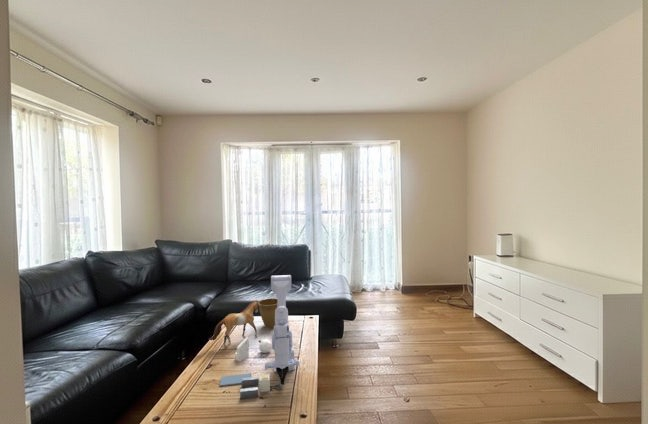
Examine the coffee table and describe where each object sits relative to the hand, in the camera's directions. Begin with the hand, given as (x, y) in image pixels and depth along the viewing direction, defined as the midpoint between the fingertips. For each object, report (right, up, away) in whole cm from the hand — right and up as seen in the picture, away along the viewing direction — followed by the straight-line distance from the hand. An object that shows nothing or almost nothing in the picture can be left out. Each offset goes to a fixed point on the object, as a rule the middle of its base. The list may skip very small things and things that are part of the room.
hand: (282, 383), depth 129 cm
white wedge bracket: (-24, -2, +26) cm, 36 cm away
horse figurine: (-34, -2, +47) cm, 58 cm away
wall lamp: (-5, -1, -1) cm, 5 cm away
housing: (-13, -2, -3) cm, 14 cm away
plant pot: (-18, -2, +69) cm, 71 cm away
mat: (-22, -2, +5) cm, 22 cm away
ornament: (-14, -2, +32) cm, 35 cm away
